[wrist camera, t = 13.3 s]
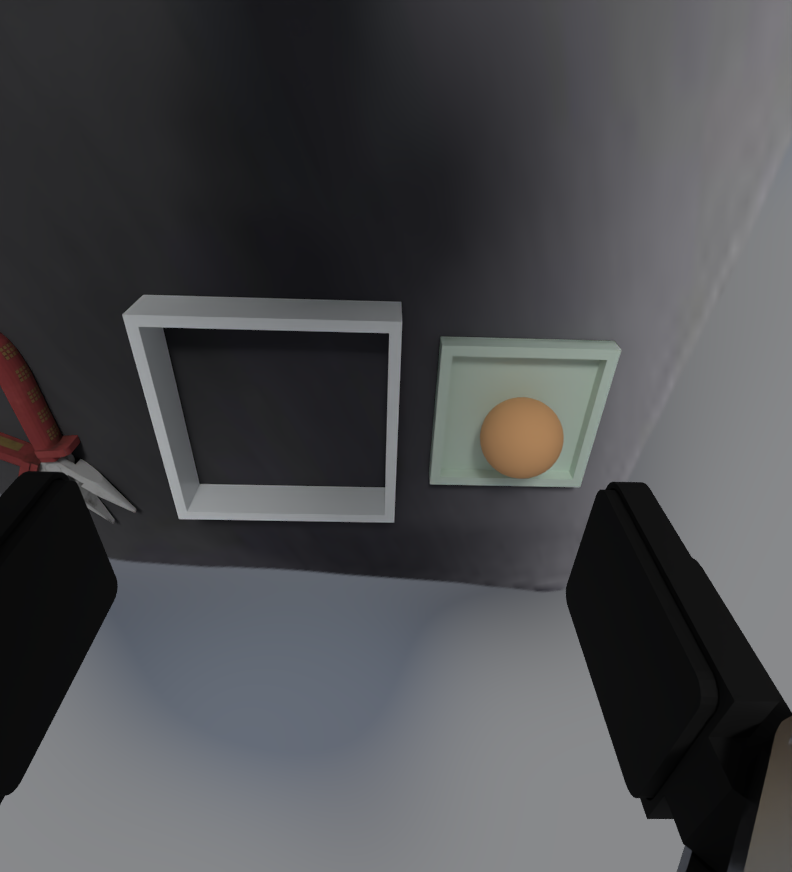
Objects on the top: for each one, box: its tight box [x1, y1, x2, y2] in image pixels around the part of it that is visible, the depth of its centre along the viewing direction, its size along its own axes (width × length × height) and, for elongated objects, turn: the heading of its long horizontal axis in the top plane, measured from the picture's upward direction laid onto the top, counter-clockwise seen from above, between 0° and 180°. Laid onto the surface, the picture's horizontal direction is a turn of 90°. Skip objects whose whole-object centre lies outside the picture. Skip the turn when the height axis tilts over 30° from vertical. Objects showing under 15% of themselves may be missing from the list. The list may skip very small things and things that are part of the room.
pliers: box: [0, 333, 137, 523], centre depth 42 cm, size 12×20×3 cm, turn 32°
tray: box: [429, 336, 621, 487], centre depth 41 cm, size 13×13×2 cm
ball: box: [480, 397, 564, 479], centre depth 39 cm, size 6×6×6 cm
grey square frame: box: [122, 295, 402, 523], centre depth 40 cm, size 18×18×4 cm
